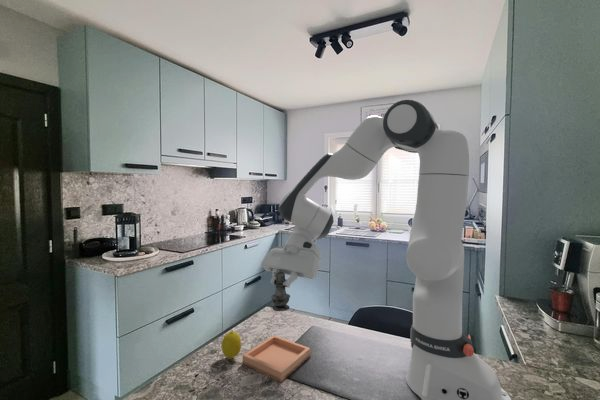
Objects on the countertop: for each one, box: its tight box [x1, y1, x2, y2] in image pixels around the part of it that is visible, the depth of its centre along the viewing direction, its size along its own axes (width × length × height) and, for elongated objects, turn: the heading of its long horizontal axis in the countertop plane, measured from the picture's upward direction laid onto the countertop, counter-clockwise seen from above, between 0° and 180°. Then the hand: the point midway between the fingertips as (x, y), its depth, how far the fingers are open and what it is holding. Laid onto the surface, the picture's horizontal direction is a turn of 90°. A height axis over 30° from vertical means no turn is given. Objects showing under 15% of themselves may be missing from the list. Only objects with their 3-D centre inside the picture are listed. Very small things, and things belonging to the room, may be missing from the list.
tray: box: [242, 334, 311, 383], centre depth 79 cm, size 14×14×2 cm
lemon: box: [221, 330, 242, 360], centre depth 80 cm, size 6×6×8 cm
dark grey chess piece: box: [270, 270, 291, 312], centre depth 84 cm, size 6×6×12 cm
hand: (279, 285), depth 83 cm, fingers closed on dark grey chess piece, 4 cm apart
